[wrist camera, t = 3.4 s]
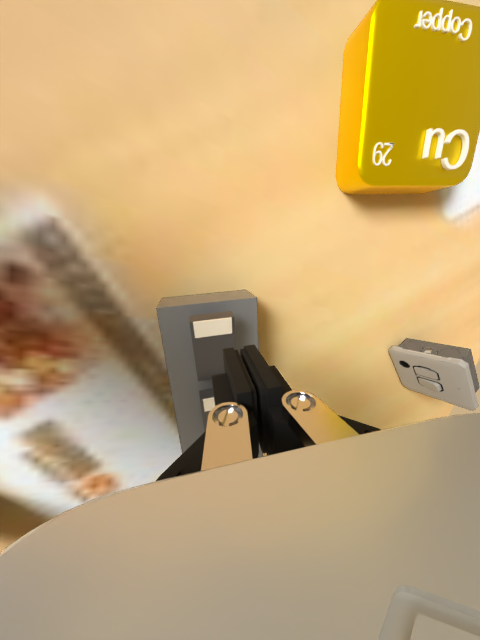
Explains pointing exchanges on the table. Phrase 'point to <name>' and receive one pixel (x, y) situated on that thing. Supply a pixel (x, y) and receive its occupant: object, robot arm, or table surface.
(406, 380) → the electrical switch
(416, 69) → the element tile
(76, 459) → the table surface
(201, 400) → the block
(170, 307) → the switch housing
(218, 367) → the rocker
